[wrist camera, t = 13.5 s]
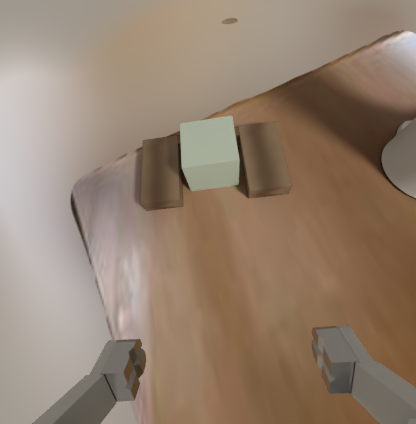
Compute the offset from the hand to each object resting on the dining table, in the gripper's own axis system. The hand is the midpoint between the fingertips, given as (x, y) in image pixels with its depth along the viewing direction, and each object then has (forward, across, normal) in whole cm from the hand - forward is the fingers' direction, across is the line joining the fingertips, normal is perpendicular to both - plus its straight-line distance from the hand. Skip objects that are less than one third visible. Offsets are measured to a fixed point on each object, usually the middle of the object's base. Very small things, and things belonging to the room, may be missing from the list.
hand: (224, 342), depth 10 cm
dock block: (+35, +1, -2) cm, 35 cm away
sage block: (+35, +1, -3) cm, 35 cm away
